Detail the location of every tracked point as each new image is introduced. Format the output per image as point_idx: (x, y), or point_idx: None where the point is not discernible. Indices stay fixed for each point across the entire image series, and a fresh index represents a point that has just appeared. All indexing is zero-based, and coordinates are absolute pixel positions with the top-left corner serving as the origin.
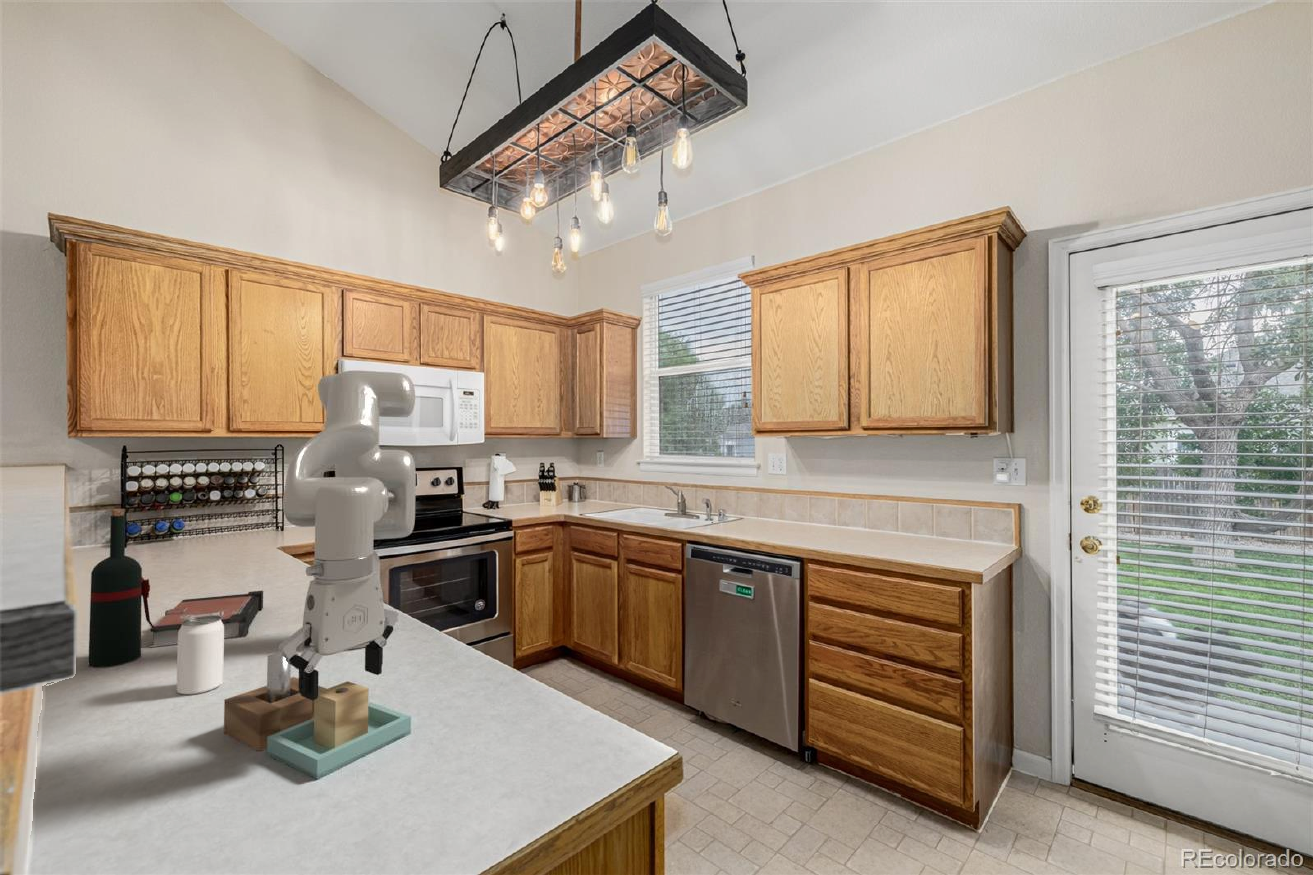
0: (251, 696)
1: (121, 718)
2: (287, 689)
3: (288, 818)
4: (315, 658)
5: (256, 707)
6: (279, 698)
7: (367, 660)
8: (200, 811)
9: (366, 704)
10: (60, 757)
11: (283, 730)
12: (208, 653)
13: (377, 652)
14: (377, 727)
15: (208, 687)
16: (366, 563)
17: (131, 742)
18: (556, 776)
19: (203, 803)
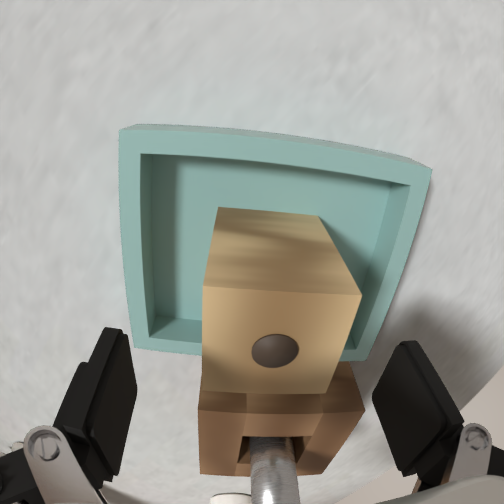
0: (298, 465)
1: (316, 490)
2: (267, 453)
3: (498, 107)
4: (476, 474)
5: (335, 436)
6: (284, 441)
7: (126, 417)
8: (498, 261)
9: (217, 251)
10: (393, 462)
11: None
12: None
13: (93, 419)
14: (170, 224)
15: (235, 497)
16: None
17: (358, 458)
18: None
19: (484, 277)
